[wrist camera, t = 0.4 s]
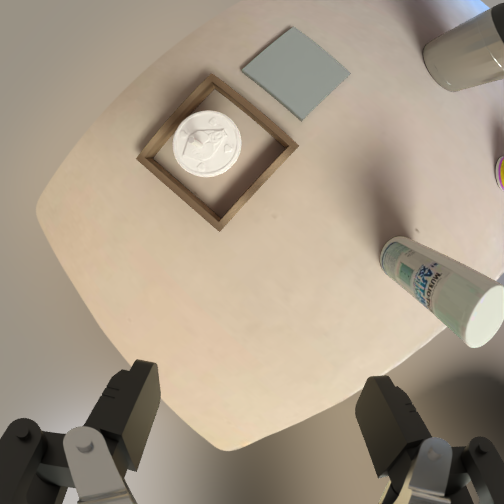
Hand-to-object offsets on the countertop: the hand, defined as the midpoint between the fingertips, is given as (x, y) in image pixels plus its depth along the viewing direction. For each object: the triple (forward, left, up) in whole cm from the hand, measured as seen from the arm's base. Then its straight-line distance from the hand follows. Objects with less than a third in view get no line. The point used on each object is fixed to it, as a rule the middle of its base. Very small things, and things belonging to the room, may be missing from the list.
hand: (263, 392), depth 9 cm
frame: (-5, -10, -28) cm, 30 cm away
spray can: (-12, +18, -28) cm, 35 cm away
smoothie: (-5, -10, -28) cm, 30 cm away
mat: (-20, -10, -28) cm, 36 cm away
